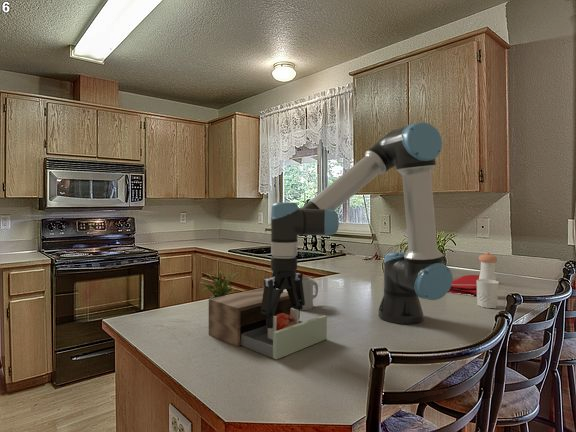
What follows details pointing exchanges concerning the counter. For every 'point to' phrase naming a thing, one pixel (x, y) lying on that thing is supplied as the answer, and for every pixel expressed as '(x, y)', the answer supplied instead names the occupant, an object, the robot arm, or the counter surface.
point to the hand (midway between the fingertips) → (283, 334)
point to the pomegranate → (284, 321)
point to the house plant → (219, 285)
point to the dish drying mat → (465, 285)
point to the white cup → (487, 293)
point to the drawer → (286, 338)
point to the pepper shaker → (487, 266)
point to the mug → (309, 292)
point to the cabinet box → (240, 313)
